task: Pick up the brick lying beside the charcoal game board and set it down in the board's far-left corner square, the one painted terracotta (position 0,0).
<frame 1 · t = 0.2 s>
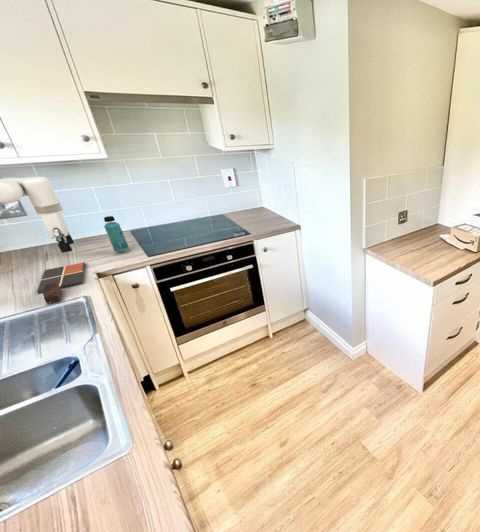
hand: (68, 247, 136), 18 cm above the worktop, tool pointing down, fingers open, 9 cm apart
board: (63, 277, 148), on the worktop
brick: (55, 298, 133), on the worktop
beverage bottle: (123, 252, 174), on the worktop
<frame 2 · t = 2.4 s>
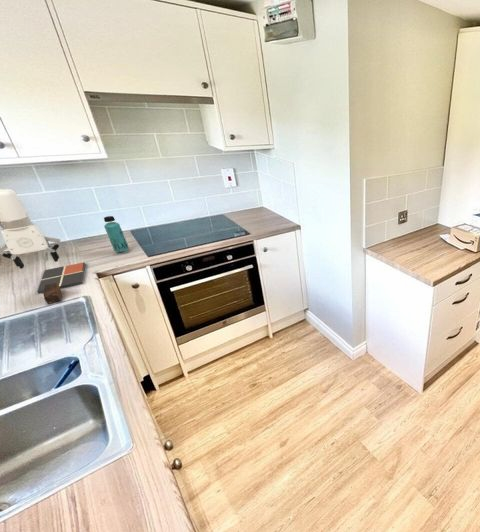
hand: (39, 263, 127), 15 cm above the worktop, tool pointing down, fingers open, 9 cm apart
nothing on the worktop moved.
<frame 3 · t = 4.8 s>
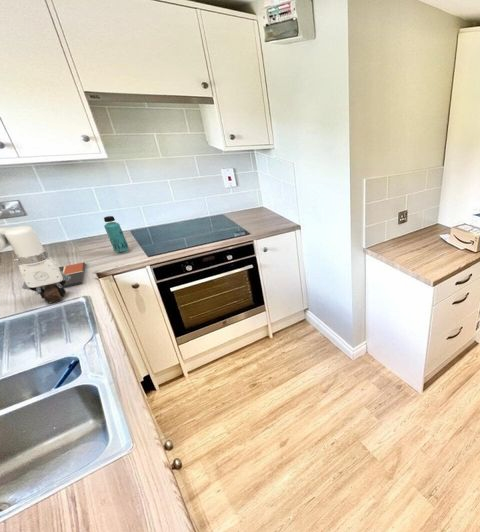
hand: (55, 296, 134), 0 cm above the worktop, tool pointing down, fingers closed on brick, 4 cm apart
brick: (55, 298, 133), on the worktop, touching gripper
everything else where it was.
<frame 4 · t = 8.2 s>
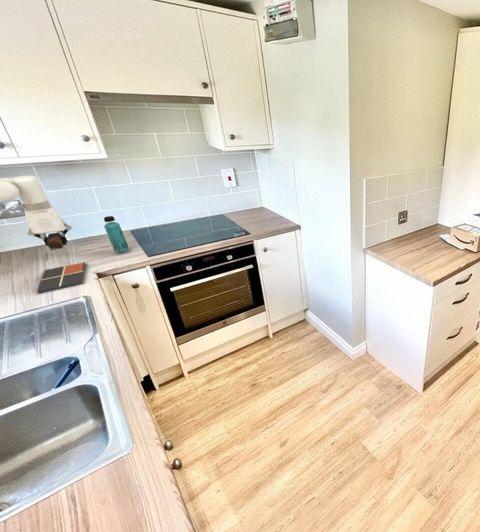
hand: (57, 245, 145), 15 cm above the worktop, tool pointing down, fingers closed on brick, 4 cm apart
brick: (58, 246, 144), point 14 cm above the worktop, touching gripper
everything else where it was.
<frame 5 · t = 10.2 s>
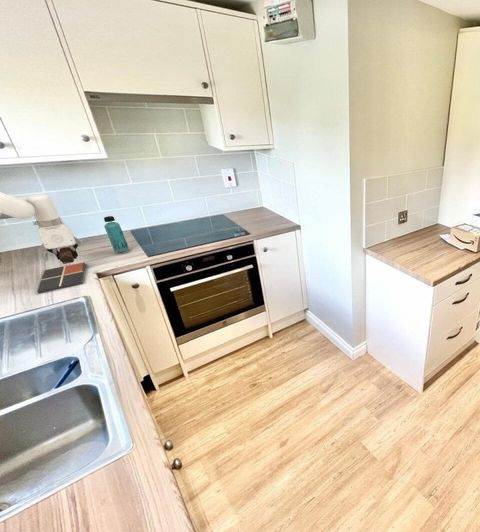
hand: (68, 258, 151), 6 cm above the worktop, tool pointing down, fingers closed on brick, 4 cm apart
brick: (69, 260, 151), point 6 cm above the worktop, touching gripper
everything else where it was.
when the fingers open (2 cm above the worktop, at t = 11.7 s): brick stays where it is, resting on board.
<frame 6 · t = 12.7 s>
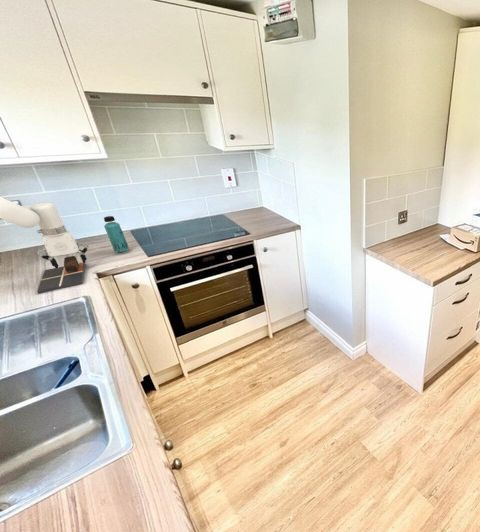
hand: (71, 264, 152), 4 cm above the worktop, tool pointing down, fingers open, 9 cm apart
brick: (73, 269, 153), point 1 cm above the worktop, touching board
everything else where it was.
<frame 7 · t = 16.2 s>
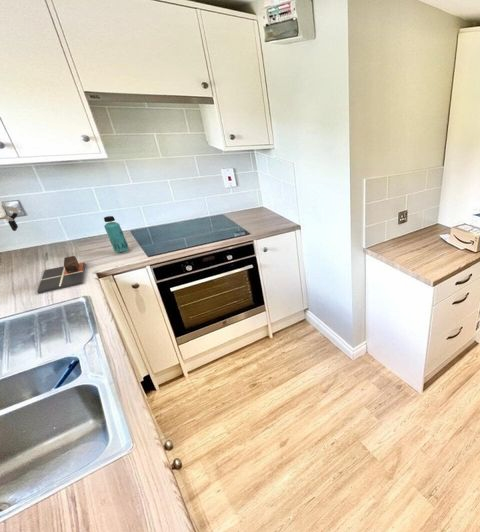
nothing on the worktop moved.
at the end: brick 0.5 cm from the target spot on the board, point 1.1 cm above the board's base; brick tilted 0°; the gripper is holding nothing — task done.
